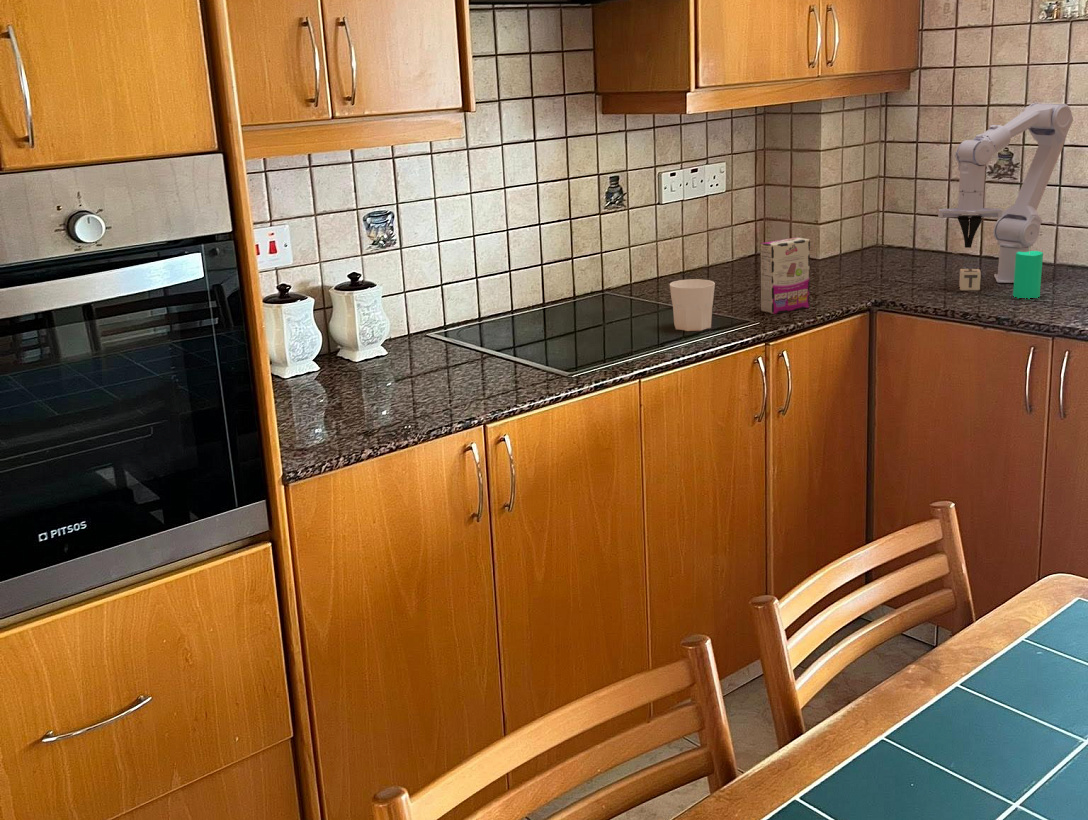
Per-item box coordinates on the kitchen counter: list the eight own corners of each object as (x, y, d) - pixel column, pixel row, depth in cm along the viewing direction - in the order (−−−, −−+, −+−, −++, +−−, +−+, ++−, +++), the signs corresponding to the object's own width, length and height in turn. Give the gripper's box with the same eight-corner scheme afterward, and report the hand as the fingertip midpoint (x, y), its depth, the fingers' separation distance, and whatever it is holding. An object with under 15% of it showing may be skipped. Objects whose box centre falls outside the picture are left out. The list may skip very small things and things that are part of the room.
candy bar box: (796, 304, 280) (797, 236, 275) (810, 308, 275) (811, 239, 271) (758, 311, 275) (759, 242, 270) (772, 314, 271) (773, 244, 266)
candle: (1041, 294, 277) (1045, 244, 274) (1037, 299, 272) (1041, 248, 269) (1015, 293, 280) (1018, 243, 277) (1010, 298, 276) (1013, 247, 272)
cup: (668, 322, 268) (668, 280, 265) (712, 321, 267) (712, 278, 265) (672, 332, 258) (671, 289, 255) (717, 331, 258) (717, 287, 255)
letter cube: (959, 286, 291) (960, 268, 290) (978, 286, 290) (979, 268, 289) (960, 290, 287) (961, 272, 286) (979, 290, 286) (980, 272, 284)
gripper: (940, 193, 279) (937, 249, 283) (1005, 192, 275) (1001, 249, 279) (939, 189, 285) (936, 244, 289) (1002, 188, 282) (998, 244, 286)
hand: (967, 247), depth 285 cm, fingers closed
